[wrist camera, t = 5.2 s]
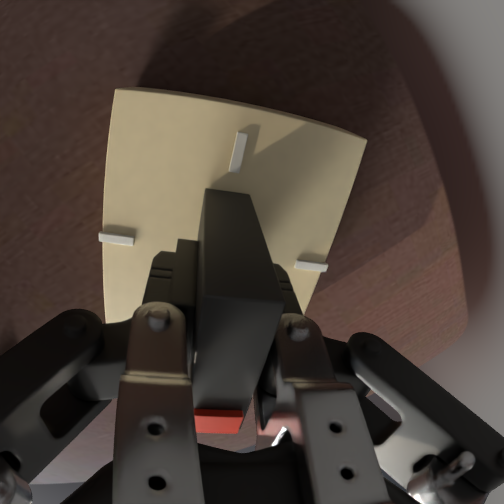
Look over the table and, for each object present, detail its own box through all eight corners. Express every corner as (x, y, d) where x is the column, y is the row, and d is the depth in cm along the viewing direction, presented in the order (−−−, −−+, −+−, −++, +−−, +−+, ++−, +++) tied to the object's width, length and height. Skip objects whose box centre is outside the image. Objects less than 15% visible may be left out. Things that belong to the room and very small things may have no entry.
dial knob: (205, 187, 11) (202, 303, 5) (250, 193, 11) (290, 310, 6) (189, 301, 13) (186, 434, 8) (226, 305, 14) (241, 436, 8)
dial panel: (132, 86, 11) (111, 88, 9) (340, 127, 13) (372, 141, 11) (117, 298, 16) (104, 339, 14) (277, 318, 18) (288, 358, 16)
